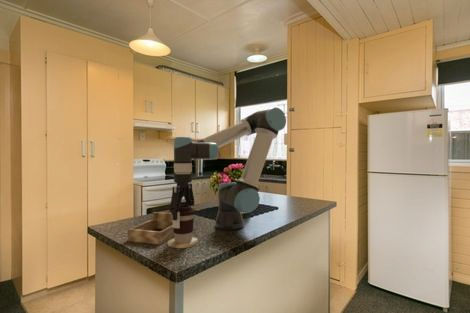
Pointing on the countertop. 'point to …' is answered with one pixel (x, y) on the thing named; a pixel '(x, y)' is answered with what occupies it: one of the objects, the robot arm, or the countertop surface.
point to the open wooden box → (144, 230)
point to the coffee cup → (184, 225)
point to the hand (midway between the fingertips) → (182, 223)
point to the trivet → (177, 245)
